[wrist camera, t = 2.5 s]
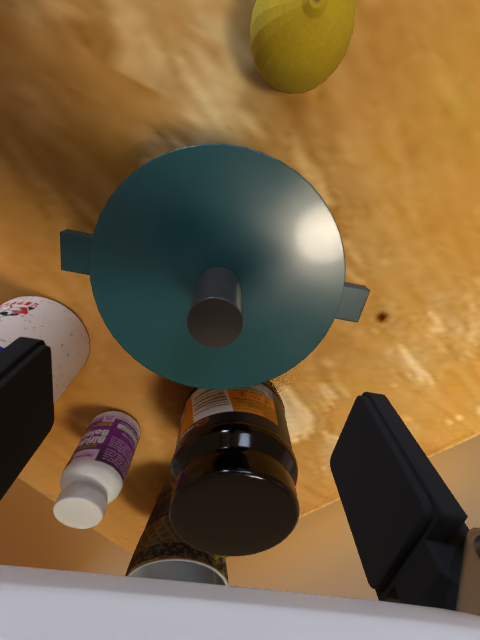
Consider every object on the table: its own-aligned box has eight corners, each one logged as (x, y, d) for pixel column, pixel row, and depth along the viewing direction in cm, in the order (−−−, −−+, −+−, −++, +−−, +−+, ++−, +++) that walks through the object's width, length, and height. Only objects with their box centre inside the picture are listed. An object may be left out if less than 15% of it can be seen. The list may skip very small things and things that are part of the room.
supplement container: (199, 353, 31) (181, 452, 20) (298, 381, 33) (332, 486, 22) (172, 432, 35) (146, 548, 25) (262, 453, 37) (275, 571, 26)
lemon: (234, 80, 22) (235, 37, 15) (269, -19, 20) (291, -125, 13) (304, 119, 23) (337, 96, 16) (345, 28, 21) (405, -45, 14)
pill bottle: (112, 400, 33) (70, 482, 25) (151, 428, 35) (124, 514, 26) (80, 427, 35) (30, 514, 26) (119, 453, 37) (84, 542, 28)
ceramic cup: (188, 530, 43) (177, 627, 34) (130, 492, 39) (100, 589, 30) (264, 484, 39) (274, 578, 30) (207, 438, 36) (199, 529, 27)
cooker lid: (98, 115, 17) (30, 87, 11) (376, 178, 18) (440, 182, 12) (95, 362, 23) (50, 426, 17) (301, 393, 24) (322, 461, 19)
